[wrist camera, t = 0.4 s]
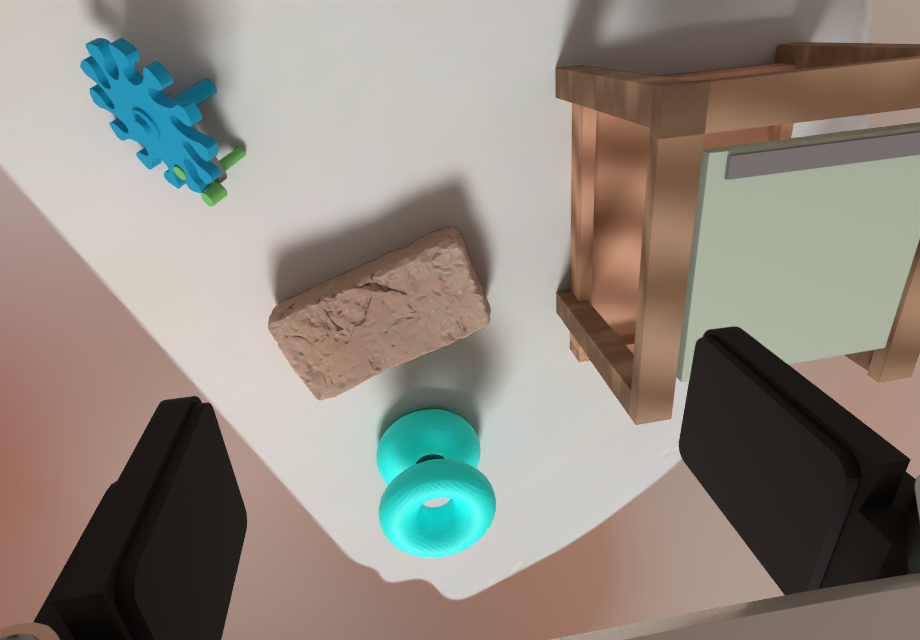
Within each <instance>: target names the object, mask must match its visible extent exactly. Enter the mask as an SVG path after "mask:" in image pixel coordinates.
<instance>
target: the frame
mask: <svg viewBox="0 0 920 640" xmlns="http://www.w3.org/2000/svg"><path fill="white" fill-rule="evenodd" d="M556 98H559V99H562V100H565V101H568V102H572V192H571V290H569V291H562V292H556V306H557V314H558V315H559V317H560V318H561V319H562V321H563V322H564V324H565V325H566V326H567V328H568V329H569V331H570V350H571V351H572V353H573V354H574V356H575V357H576V359H577V360H578V362H583V361H589V360H590V361H591V362H592V363H593V365H594V366H595V368H596V369H597V371H598V372H599V373H600V375H601V376H602V378H603V379H604V380H605V382H606V383H607V385H608V386H609V388H610V389H611V390H612V392H613V393H614V395H615V396H616V398H617V399H618V400H619V402H620V403H621V405H622V406H623V407H624V409H625V410H626V412H627V413H628V415H629V416H630V417H631V419H632V420H633V422H634V423H635V424H636V425H639V424H645V423H650V422H656V421H662V420H668V419H671V416H672V408H673V399H674V391H675V382H676V373H677V365H678V356H679V348H680V339H681V331H682V322H683V313H684V305H685V296H686V288H687V279H688V271H689V262H690V254H691V245H692V236H693V228H694V219H695V211H696V202H697V194H698V185H699V176H700V168H701V159H702V151H703V149H709V148H717V147H725V146H733V145H741V144H750V143H758V142H766V141H774V140H782V139H790V138H791V135H792V130H793V124H794V123H798V122H806V121H814V120H823V119H831V118H839V117H847V116H856V115H864V114H872V113H880V112H889V111H897V110H905V109H913V108H920V44H872V43H816V42H800V43H790V44H781V45H778V47H777V53H776V59H775V63H774V64H765V65H756V66H746V67H737V68H728V69H719V70H710V71H701V72H692V73H682V74H673V75H664V76H652V75H645V74H638V73H631V72H624V71H617V70H610V69H603V68H596V67H589V66H573V67H563V68H556ZM633 353H634V354H633ZM919 353H920V239H919V242H918V246H917V249H916V252H915V255H914V258H913V261H912V264H911V268H910V271H909V274H908V277H907V280H906V283H905V286H904V290H903V293H902V296H901V299H900V302H899V305H898V308H897V312H896V315H895V318H894V321H893V324H892V327H891V330H890V334H889V337H888V340H887V343H886V346H885V348H881V349H875V350H869V351H863V352H858V353H852V354H846V355H845V356H847V357H848V358H849V359H851V360H853V361H854V362H856V363H857V364H859V365H860V366H862V367H863V368H865V369H866V370H868V373H867V375H868V376H870V377H871V378H873V379H874V380H876V381H877V382H885V381H890V380H897V379H902V378H907V377H911V376H912V373H913V370H914V368H915V365H916V362H917V359H918V356H919Z"/></svg>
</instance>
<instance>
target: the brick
mask: <svg viewBox="0 0 920 640" xmlns="http://www.w3.org/2000/svg"><path fill="white" fill-rule="evenodd" d="M490 313H491V309H490V305H489V303H488V300H487V298H486V296H485V294H484V292H483V288H482V285H481V284H480V283H479V280H478V277H477V274H476V271H475V269H474V267H473V265H472V263H471V261H470V258H469V255H468V253H467V250H466V246H465V243H464V241H463V239H462V238H461V235H460V233H459V231H458V230H457V229H456V228H455V227H452V226H451V227H448V228H447V227H444V228H442V229H441V230H439V231H436V232H432V233H429V234H428V235H426V236H424V237H422V238H420V239H418V240H416V241H414V242H413V243H411V244H410V245H409V246H408V247H404V248H402V249H398V250H395V251H392V252H389V253H386V254H385V255H383V256H381V257H380V258H378V259H377V260H375V261H372V262H367V263H365V264H363V265H361V266H359V267H357V268H354V269H352V270H349V271H348V272H346V273H345V274H341V275H339V276H336V277H334V278H332V279H329V280H327V281H326V282H324V283H321V284H319V285H317V286H315V287H313V288H310V289H308V290H306V291H304V292H303V293H301V294H299V295H297V296H294V297H292V298H289V299H287V300H285V301H283V302H281V303H279V304H278V305H277V306H276V307H275V308H274V309H273V311H272V314H271V315H270V316H269V323H268V329H269V331H270V333H271V334H272V336H273V337H274V339H275V340H276V341H277V342H278V345H279V348H280V349H281V351H282V352H283V354H284V355H285V357H286V359H287V360H288V362H289V363H290V365H291V366H292V368H293V369H294V370H295V372H296V373H297V374H298V375H299V377H300V378H301V379H302V380H303V382H304V383H305V384H306V386H307V387H308V388H309V390H310V391H311V392H312V393H313V395H314V396H315V398H316V399H318V400H324V399H326V398H329V397H335V396H337V395H339V394H341V393H343V392H345V391H347V390H349V389H351V388H353V387H355V386H357V385H358V384H360V383H362V382H364V381H365V380H367V379H369V378H371V377H372V376H374V375H377V374H379V373H381V372H383V371H384V370H385V369H386V368H388V367H394V366H397V365H400V364H402V363H405V362H408V361H410V360H413V359H415V358H418V357H420V356H422V355H424V354H427V353H429V352H432V351H435V350H437V349H439V348H441V347H444V346H447V345H449V344H452V343H454V342H455V341H457V339H460V338H465V337H467V336H469V335H471V334H472V333H473V332H475V331H477V330H480V329H483V328H484V327H485V326H486V325H488V323H489V321H490Z"/></svg>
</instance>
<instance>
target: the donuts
mask: <svg viewBox="0 0 920 640" xmlns="http://www.w3.org/2000/svg"><path fill="white" fill-rule="evenodd" d="M430 454H437V455H440V456H442V457H444V459H433V460H428V461H424V462H420V463H418V464H416V462H417V461H418V460H419V459H420V458H421V457H423V456H426V455H430ZM479 459H480V443H479V439H478V436H477V434H476V432H475V430H474V429H473V428H472V426H471V425H470V424H469V423H468V422H467V421H466V420H465V419H463V418H462V417H460V416H458V415H456V414H454V413H452V412H449V411H445V410H439V409H426V410H420V411H416V412H413V413H410V414H407V415H405V416H403V417H402V418H400V419H398V420H397V421H396V422H394V423H393V424H392V425H391V426H390V427H389V428H388V429H387V430H386V432H385V433H384V435H383V436H382V438H381V440H380V443H379V446H378V449H377V465H378V469H379V472H380V474H381V476H382V478H383V479H384V480H385V482H386V483H387V484H388V487H387V488H386V490H385V492H384V493H383V496H382V498H381V502H380V506H379V521H380V525H381V528H382V530H383V532H384V534H385V536H386V537H387V539H388V540H389V541H390V542H391V543H392V544H393V545H394V546H396V547H397V548H398V549H400V550H402V551H404V552H406V553H409V554H412V555H415V556H419V557H443V556H448V555H452V554H455V553H458V552H460V551H462V550H464V549H466V548H468V547H470V546H471V545H473V544H474V543H475V542H476V541H478V540H479V539H480V538H481V537H482V536H483V535H484V534H485V533H486V531H487V530H488V528H489V527H490V525H491V523H492V520H493V518H494V514H495V509H496V499H495V494H494V491H493V488H492V486H491V484H490V482H489V481H488V479H487V478H486V477H485V476H484V475H483V474H482V473H481V472H480V471H479V470H478V469H476V468H477V465H478V462H479ZM440 497H446V498H451V500H450V501H449V502H448V503H446V504H445V505H443V506H440V507H426V506H424V505H422V504H423V503H425V502H426V501H428V500H431V499H434V498H440Z"/></svg>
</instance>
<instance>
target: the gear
mask: <svg viewBox="0 0 920 640" xmlns="http://www.w3.org/2000/svg"><path fill="white" fill-rule="evenodd" d="M85 45H86V48H87V50H88V51H89V53H90V54H91V56H90V57H88V58H86V59H84V60H82V62H81V65H80V67H81V68H82V70H83V71H84V72H85V74H86V75H87V76H89V77H90V78H91V79H93V80H94V81H95V82H96V83H97V85H96V86H94V87H92V88H90V94H91V97H92V99H93V101H94V103H95V104H97V105H98V106H99V107H101V108H104V109H106V110H108V111H110V112H111V113H113V114H114V115H115V116H116V117H118V118H117V119H116V120H114V121H112V122H110V123H109V124H110V126H111V128H112V129H113V131H114V132H115V134H116V135H117V137H118V138H119V139H120V140H123V141H124V140H126V139H133V140H135V141H137V142H139V143H140V144H142V145H143V146H144V147H145V148H144V149H142V150H141V151H139V152H137V157H138V158H139V159H140V160H141V162H142V163H143V164H144V165H145V166H146V167H147V168H148V169H152V168H154V167H155V166H157V165H158V164H160V163H161V160H162V161H163V162H164V163H165V164H166V165H167V166H168V168H169V170H167V171H166V172H165V173H164V177H165V179H166V180H167V181H168V182H169V183H171V184H172V185H173V186H175V187H177V188H178V189H179V188H180V187H181V186H183V185H184V184H185V183H187V185H188V187H189V188H190V189H191V190H192V191H195V192H198V193H202V192H203V193H202V194H201V197H202V199H203V200H204V202H205V203H206V204H208V205H209V206H214V205H215V204H216V203H218V202H219V201H220V200H221V199H223V198H224V197H225V196H227V191H226V189H225V188H224V187H223V186H222V185H221V184H220V183H221V182H223V181H224V180H225V179H226V178H227V174H226V172H225V171H226V170H227V169H228V168H230V167H231V166H232V165H234V164H235V163H236V162H238V161H239V160H240V159H242V158H243V157H245V156H246V154H245V151H244V150H243V149H242V148H240V147H238V148H236V149H235V150H233V151H232V152H231V153H229V154H228V155H227V156H225V157H224V158H222V159H221V160H220V161H218V159H217V158H216V155H217V154H218V145H217V142H216V141H215V140H214V139H213V138H212V137H210V136H207V135H204V134H202V133H200V132H199V131H198V130H197V128H196V127H195V125H194V124H196V123H197V122H199V121H200V120H202V115H201V113H200V111H199V109H198V107H197V104H199V103H201V102H202V101H204V100H205V99H207V98H208V97H210V96H212V95H213V94H215V93H216V91H217V90H216V87H215V85H214V84H213V82H212V81H211V80H209V79H204V80H203V81H201V82H199V83H198V84H196V85H194V86H193V87H191V88H189V89H188V90H186V91H184V92H183V93H181V94H179V95H178V96H176V97H174V98H173V97H171V96H166V95H165V94H164V93H163V92H162V90H163V89H164V88H166V87H168V86H169V85H171V84H172V83H173V79H172V77H171V76H170V74H169V73H168V72H167V70H166V69H165V68H164V67H163V66H162V65H161V64H160V63H159V62H158V61H156V62H154V63H152V64H151V65H149V66H147V67H145V68H144V69H143V77H142V76H141V75H140V74H139V73H138V71H137V70H136V68H135V62H137V61H139V60H140V54H139V52H138V50H137V49H136V48H135V47H134V46H133V45H132V44H130V43H129V42H128V41H126V40H124V39H123V38H120V39H118V40H116V41H114V42H112V43H110V42H109V41H108V40H106V39H103V38H97V39H95V40H93V41H91V42H89V43H87V44H85ZM209 187H210V188H209ZM208 188H209V189H208ZM206 189H207V190H206ZM205 190H206V191H205ZM204 191H205V192H204Z"/></svg>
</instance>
